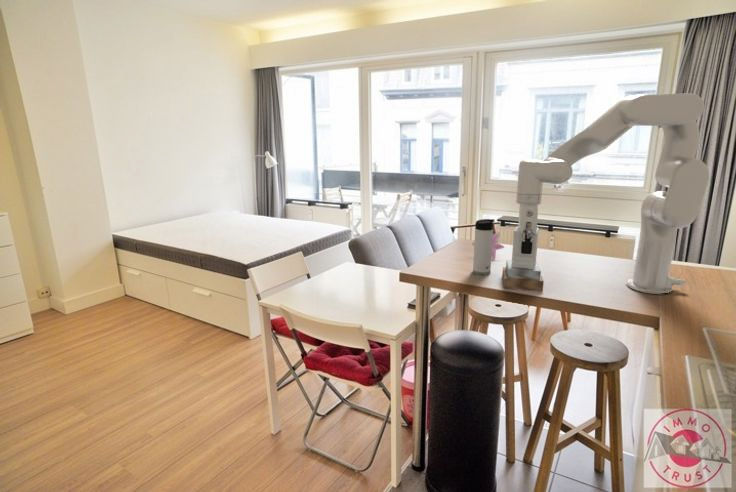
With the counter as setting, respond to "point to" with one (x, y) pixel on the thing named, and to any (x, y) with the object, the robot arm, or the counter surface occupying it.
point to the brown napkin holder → (522, 278)
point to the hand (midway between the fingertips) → (524, 249)
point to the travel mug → (483, 246)
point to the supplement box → (523, 259)
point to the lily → (495, 245)
